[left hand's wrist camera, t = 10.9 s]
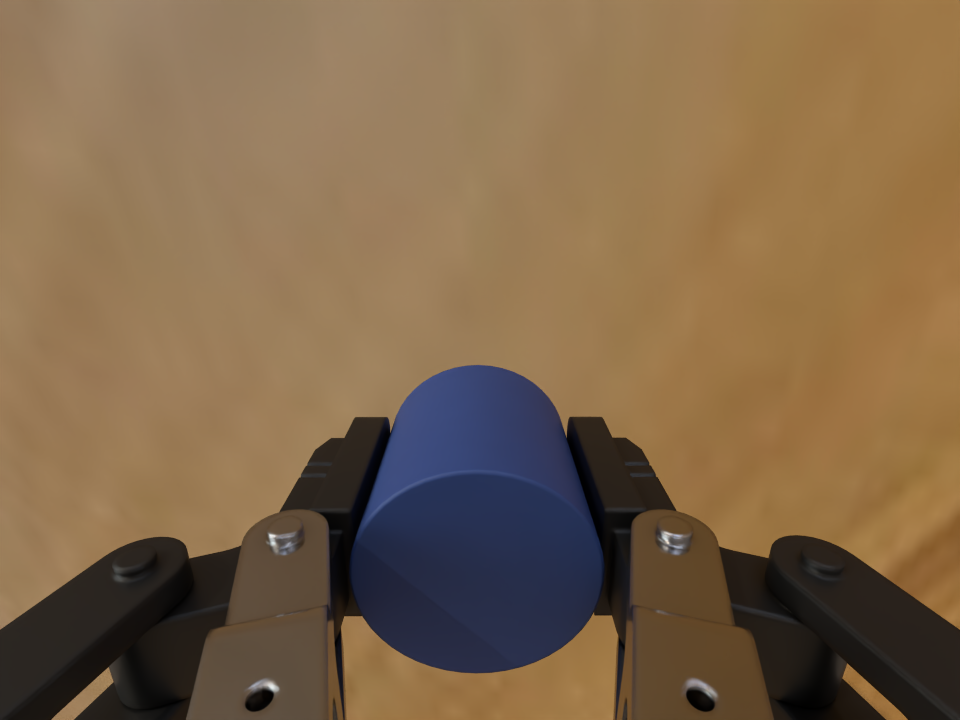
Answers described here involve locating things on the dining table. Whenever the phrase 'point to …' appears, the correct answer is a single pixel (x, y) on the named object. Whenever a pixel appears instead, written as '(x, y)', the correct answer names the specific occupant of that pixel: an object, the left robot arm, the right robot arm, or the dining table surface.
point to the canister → (477, 528)
